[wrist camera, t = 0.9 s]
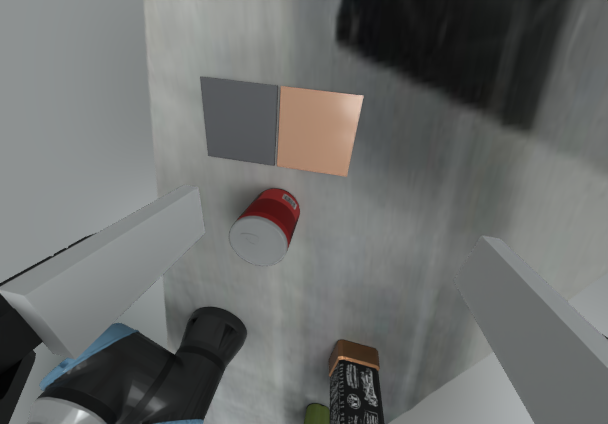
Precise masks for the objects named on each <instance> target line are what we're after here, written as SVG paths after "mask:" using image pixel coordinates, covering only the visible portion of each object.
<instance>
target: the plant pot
mask: <svg viewBox="0 0 608 424" xmlns="http://www.w3.org/2000/svg"><path fill="white" fill-rule="evenodd" d="M304 424H330V411H329V409H328V408H327V407H326V406H321V405H320V404H311V405H309V406H308V407H307V411H306V415H305V420H304Z"/></svg>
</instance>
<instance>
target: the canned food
mask: <svg viewBox="0 0 608 424" xmlns="http://www.w3.org/2000/svg"><path fill="white" fill-rule="evenodd" d="M299 215H300V209H299V205H298V203H297V201H296V199H295V198H294V197H293V196H292V195H291V194H290V193H289V192H287V191H285V190H282V189H269V190H266V191H264V192H262V193H261V194H259V196H258V197H257V198H256V199H255V200H254V201H253V202H252V203H251V205H250V206H249V207H248V208H247V209H246V210H245V211H244V212H243V214H242V215H241V216H240V217H239V218H238V219H237V221H236V222H235V223H234V224H233V226H232V228H231V229H230V232H229V241H230V244H231V247H232V248H233V250H234V251H235V252H236V254H237V255H238V256H239V257H241V258H242V259H244V260H245V261H247V262H249V263H251V264H254V265H259V266H270V265H274V264H276V263H278V262H280V261H281V260H282V259H283V257H284V256H285V254H286V252H287V249H288V247H289V244H290V241H291V239H292V236H293V233H294V230H295V227H296V224H297V222H298V219H299Z"/></svg>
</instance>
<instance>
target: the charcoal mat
mask: <svg viewBox="0 0 608 424" xmlns="http://www.w3.org/2000/svg"><path fill="white" fill-rule="evenodd" d="M200 80H201V90H202V99H203V109H204V119H205V129H206V138H207V148H208V156H213V157H219V158H226V159H233V160H239V161H246V162H253V163H259V164H266V165H273V166H274V165H275V147H276V123H277V100H278V86H276V85H267V84H259V83H251V82H242V81H234V80H225V79H217V78H208V77H200Z"/></svg>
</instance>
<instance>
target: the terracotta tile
mask: <svg viewBox="0 0 608 424" xmlns="http://www.w3.org/2000/svg"><path fill="white" fill-rule="evenodd" d="M362 101H363V96H361V95H352V94H344V93H335V92H327V91H318V90H310V89H301V88H293V87H284V86H281V96H280V117H279V137H278V158H277V166H279V167H286V168H293V169H299V170H306V171H313V172H319V173H326V174H333V175H339V176H346V177H347V173H348V168H349V163H350V158H351V153H352V149H353V144H354V139H355V134H356V129H357V125H358V120H359V115H360V110H361V105H362Z"/></svg>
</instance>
